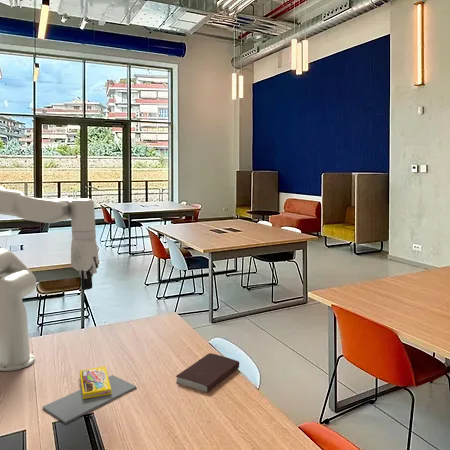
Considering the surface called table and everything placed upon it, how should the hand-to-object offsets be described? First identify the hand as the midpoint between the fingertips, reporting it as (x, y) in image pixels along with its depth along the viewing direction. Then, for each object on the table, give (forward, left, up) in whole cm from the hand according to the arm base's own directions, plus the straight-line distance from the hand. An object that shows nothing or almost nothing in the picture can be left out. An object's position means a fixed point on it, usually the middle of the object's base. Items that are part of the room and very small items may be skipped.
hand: (87, 288), depth 147 cm
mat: (+19, -13, -27) cm, 36 cm away
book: (+38, +19, -28) cm, 51 cm away
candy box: (+12, -12, -25) cm, 31 cm away
